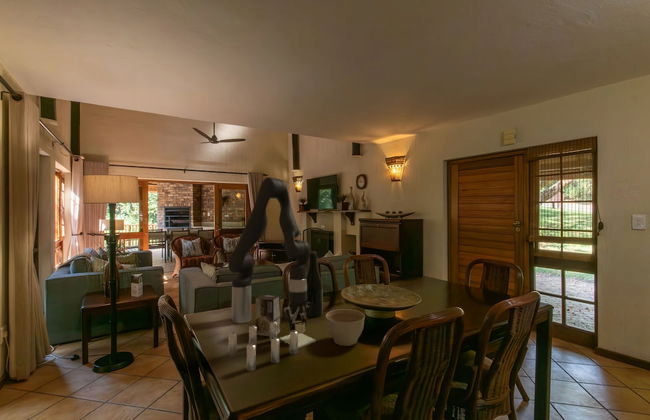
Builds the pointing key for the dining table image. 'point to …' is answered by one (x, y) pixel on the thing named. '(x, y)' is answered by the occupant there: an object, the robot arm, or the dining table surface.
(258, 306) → the coffee box
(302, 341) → the pad
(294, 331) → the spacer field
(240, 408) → the dining table surface
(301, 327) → the brass nut
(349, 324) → the planter bowl
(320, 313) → the beer bottle
